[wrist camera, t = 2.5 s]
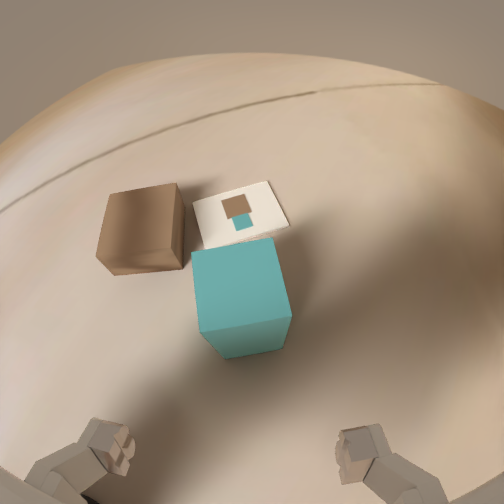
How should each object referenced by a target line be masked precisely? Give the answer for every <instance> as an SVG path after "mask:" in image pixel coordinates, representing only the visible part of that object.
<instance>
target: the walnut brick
mask: <svg viewBox="0 0 504 504" xmlns="http://www.w3.org/2000/svg"><path fill="white" fill-rule="evenodd" d="M184 221H185V206H184V203H183V200H182V197H181V195H180V192H179V189H178V186H177V183H171V184H165V185H159V186H153V187H147V188H141V189H135V190H130V191H125V192H119V193H114V194H110V196H109V200H108V203H107V207H106V211H105V215H104V220H103V224H102V228H101V233H100V237H99V242H98V247H97V252H96V257H97V259H98V260H99V261H100V262H101V263H102V264H103V265H104V266H105V267H106V268H107V269H108V270H109V271H110V272H111V273H112V274H113V275H114V276H118V275H128V274H139V273H150V272H160V271H171V270H181V269H183V245H184Z"/></svg>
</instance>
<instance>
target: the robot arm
mask: <svg viewBox="0 0 504 504" xmlns="http://www.w3.org/2000/svg"><path fill="white" fill-rule="evenodd" d="M128 433H129V429H128V427H127V425H122V424H118V423H114V422H110V421H106V420H102V419H98V418H92V419H91V420H90V422H89V423H88V425H87V427H86V428H85V430H84V432H83V433H82V435H81V437H80V439H79V440H78V442H77V443H72V444H70V445H68V446H66V447H64V448H63V449H61V450H59V451H57V452H55V453H53V454H51V455H49V456H47V457H45V458H42V459H40V460H38V461H36V462H35V464H34V465H33V467H32V469H31V470H30V472H29V474H28V475H27V477H26V479H25V480H24V481H23V480H21V479H19V478H18V477H16V476H15V475H13V474H12V473H10V472H8V471H7V470H5V469H4V468H3V467H1V466H0V504H88V503H87V501H86V500H85V499H84V498H83V497H82V496H81V495H80V494H81V493H82V492H83V491H85V490H86V489H87V488H89V487H90V486H91V485H93V484H94V483H95V482H97V481H98V480H99V479H101V478H102V477H103V476H105V475H106V474H107V473H108V472H110V473H114V474H118V475H122V476H126V474H127V471H128V469H129V466H130V463H129V461H128V460H129V459H131V458H132V457H133V456H134V453H135V446H136V445H135V441H134V439H133V437H132V436H131V435H129V434H128ZM335 455H336V461H337V464H339V465H340V466H341V467H340V470H339V475H340V479H341V484H342V485H344V484H350V483H356V482H361V481H363V483H364V484H365V485H367V486H368V487H369V488H370V489H371V490H372V491H373V492H374V493H376V494H377V495H378V496H379V497H380V498H381V499H383V500H384V501H385V502H386V503H387V504H504V472H502V473H500V474H499V475H497V476H496V477H494V478H493V479H491V480H489V481H488V482H486V483H484V484H483V485H481V486H479V487H477V488H476V489H474V490H472V491H470V492H468V493H467V494H465V495H463V496H461V497H459V498H457V499H455V500H453V501H451V502H448V500H447V497H446V495H445V493H444V490H443V488H442V486H441V484H440V481H439V479H438V478H437V477H435V476H433V475H431V474H430V473H428V472H426V471H424V470H423V469H421V468H419V467H418V466H416V465H414V464H413V463H411V462H409V461H408V460H406V459H405V458H403V457H401V456H400V455H398V454H397V453H394V454H392V451H391V449H390V447H389V444H388V442H387V439H386V437H385V434H384V432H383V430H382V427H381V425H380V424H373V425H368V426H361V427H356V428H350V429H344V430H341V431H340V432H339V441H338V442H337V443H336V447H335Z"/></svg>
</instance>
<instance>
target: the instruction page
mask: <svg viewBox="0 0 504 504" xmlns="http://www.w3.org/2000/svg"><path fill="white" fill-rule="evenodd" d="M192 203H193V207H194V211H195V214H196V218H197V222H198V225H199V229H200V233H201V236H202V240H203V243H204V247H205V250H206V249H211V248H217V247H222V246H227V245H231V244H234V243H237V242H241V241H244V240H247V239H250V238H254V237H257V236H260V235H264V234H267V233H270V232H273V231H277V230H280V229H283V228H287V227H289V223H288V221H287V219H286V217H285V215H284V213H283V211H282V209H281V207H280V205H279V203H278V201H277V199H276V198H275V196H274V194H273V192H272V190H271V188H270V186H269V184H268V182H267V181H264V182H260V183H256V184H253V185H249V186H245V187H242V188H238V189H235V190H231V191H228V192H224V193H221V194H217V195H214V196H211V197H207V198H204V199H201V200H198V201H194V202H192Z"/></svg>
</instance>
